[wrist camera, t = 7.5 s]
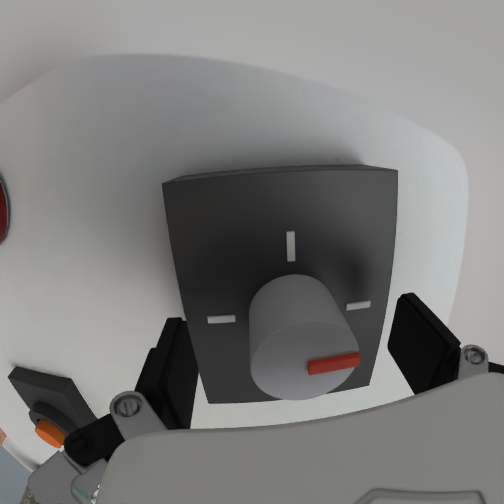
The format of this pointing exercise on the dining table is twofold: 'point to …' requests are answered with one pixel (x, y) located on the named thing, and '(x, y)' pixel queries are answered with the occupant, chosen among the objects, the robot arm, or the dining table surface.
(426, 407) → the robot arm
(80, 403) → the housing
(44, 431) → the button
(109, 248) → the dining table surface
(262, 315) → the timer dial
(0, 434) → the pepper shaker
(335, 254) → the panel
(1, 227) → the soda can
